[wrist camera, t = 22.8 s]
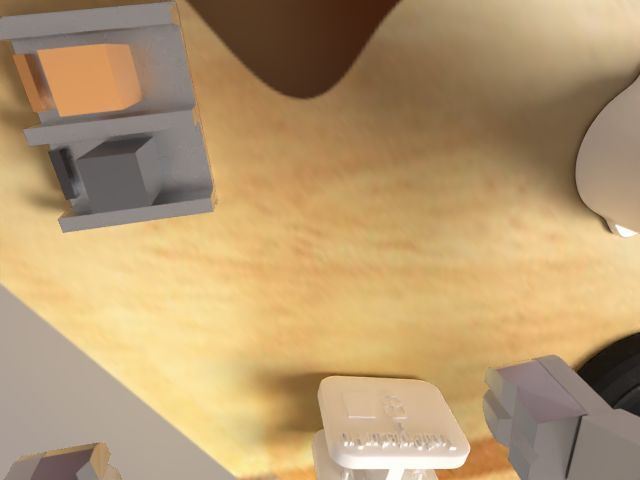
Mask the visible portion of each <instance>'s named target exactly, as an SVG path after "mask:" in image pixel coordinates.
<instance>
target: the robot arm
mask: <svg viewBox="0 0 640 480" xmlns="http://www.w3.org/2000/svg"><path fill="white" fill-rule="evenodd" d="M576 185H577V189H578V192H579V194H580V197H581V198H582V200H583V202H584V203H585V204H586V205H587V206H588V207H589V208H590V209H591V210H592V211H594V212H596V213H597V214H599V215H601V216H602V217H603V218H604V219H606V222H607V224H608V226H609V228H610V230H611V231H612V232H613V233H614V234H615V235H618V236H621V237H630V236H633V235H636V234H640V75H639V77H638V78H637V79H636V81H635V82H634V83H633V84H632V85H630V86H629V87H628V88H627V89H626V90H624V91H623V92H622V93H620V94H619V95H618V96H617V97H615V98H614V99H613V100H612V101H611V102H610V103H609V104H608V105H607V106H606V107H605V108H604V109H603V110H602V111H601V112H600V114H599V115H598V116H597V117H596V119H595V120H594V122H593V123H592V125H591V126H590V128H589V129H588V131H587V133H586V135H585V137H584V139H583V142H582V144H581V147H580V150H579V153H578V157H577V162H576ZM485 382H486V384H487V385H488V386H489V388H490V389H489V390H488V391H487V393H486V394H485V395H484V396H483V411H484V416H485V420H486V423H487V425H488V427H489V429H490V431H491V433H492V435H493V436H494V438H495V439H496V441H498V442H499V443H501V444H503V445H504V446H506V447H508V448H509V452H508V460H509V462H510V463H511V465H512V466H513V468H514V469H515V471H516V472H517V474H518V476H519V477H520V479H521V480H640V417H638V416H636V415H634V414H632V413H629V412H627V411H625V410H623V409H616V410H613V409H612V408H611V407H610V406H609V405H608V404H607V403H606V402H605V401H604V400H603V399H602V398H601V397H600V396H599V395H598V394H597V393H596V392H595V391H594V390H593V389H592V388H591V387H590V386H589V385H588V384H587V383H586V382H585V381H584V380H583V379H582V378H581V377H580V376H579V375H578V374H577V373H575V372H574V371H573V370H572V369H571V368H570V367H569V366H568V365H567V364H566V363H565V362H564V361H563V360H562V359H561V358H560V357H558V356H556V355H549V356H544V357H539V358H534V359H531V360H524V361H519V362H514V363H509V364H504V365H499V366H494V367H489V368H488V370H487V371H486V376H485ZM110 456H111V453H110V451H109V449H108V447H107V445H106V443H93V444H87V445H82V446H76V447H69V448H64V449H57V450H52V451H48V452H42V453H36V454H30V455H24V456H21V457H20V458H19V459H18V460H17V461H15V462H14V464H13V465H12V467H11V468H10V470H9V472H8V474H7V476H6V477H5V479H4V480H122V478H121V475H120V473H119V470H118V469H117V468H115V467H113V466H112V465H110V464H108V462H109V459H110Z"/></svg>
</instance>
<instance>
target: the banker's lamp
mask: <svg viewBox="0 0 640 480" xmlns="http://www.w3.org/2000/svg"><path fill="white" fill-rule="evenodd" d="M577 374H578V375H579V376H580V377H581V378H582V379H583V380H584V381H585V382H586V383H587V384H588V385H589V386H590V387H591V388H592V389H593V390H594V391H595V392H596V393H597V394H598V395H599V396H600V397H601V398H602V399H603V400H604V401H605V402H606V403H607V404H608V405H609V406H610V407H611V408H612V409H613V410H616V409H623V410H625V411H627V412H629V413H632V414H634V415H636V416H638V417H640V334H637V335H634V336H631V337H629V338H627V339H625V340H622V341H620V342H618V343H616V344H614V345H613V346H611V347H609V348H608V349H606V350H604V351H603V352H601V353H600V354H598V355H597V356H596V357H595V358H593V359H592V360H591V361H590V362H588V363H587V364H586V365H585V366H584V367H583V368H582V369H581V370H580V371H579V372H578V373H577Z"/></svg>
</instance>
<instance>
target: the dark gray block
mask: <svg viewBox="0 0 640 480" xmlns="http://www.w3.org/2000/svg"><path fill="white" fill-rule="evenodd" d="M75 161H76V163H77V166H78V169H79V172H80V175H81V178H82V181H83V184H84V186H85V189H86V192H87V195H88V198H89V201H90V204H91V206H92V209H93V212H94V214H98V213H105V212H113V211H120V210H127V209H135V208H142V207H149V206H151V205H152V203H153V201H154V200H155V198H156V197H157V195H158V193H159V192H160V190H161V189H162V187H163V186H164V184H165V180H164V177H163V173H162V169H161V165H160V161H159V157H158V154H157V150H156V146H155V142H154V138H153V137H145V138H136V139H128V140H119V141H111V142H103V143H101V144H100V145H98V146H97V147H95V148H93V149H92V150H90V151H89V152H87V153H86V154H84V155H82V156H81V157H79V158H78V159H76V160H75Z"/></svg>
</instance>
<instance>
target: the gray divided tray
mask: <svg viewBox="0 0 640 480" xmlns="http://www.w3.org/2000/svg"><path fill="white" fill-rule="evenodd" d="M0 41H9V42H11V43H12V46H13V48H14V51H15V54H16V55H12V57H13V59H14V62H15V65H16V67H17V70H18V73H19V75H20V78H21V81H22V83H23V86H24V89H25V91H26V94H27V97H28V99H29V102H30V105H31V107H32V110H33V113H34V112H37V113H38V116H39V118H40V121H41V123H40V124H37V125H34V126H31V127H28V128H26V129H23V132H24V135H25V137H26V140H27V142H28V145H29V146H35V145H43V144H49V145H50V148H51V151H49V152H48V153H49V155H50V158H51V161H52V163H53V166H54V169H55V171H56V174H57V177H58V179H59V182H60V185H61V187H62V190H63V193H64V195H65V198H66V200H68V199H70V202H71V205H72V207H71V208H69V209H68V210H67V211H66V212H65V213H64V214H63V215H62V216H60V217H59V218H58V221H59V224H60V226H61V229H62V231H63V233H65V232H72V231H79V230H86V229H93V228H100V227H107V226H114V225H122V224H129V223H136V222H143V221H150V220H157V219H164V218H171V217H178V216H186V215H193V214H200V213H207V212H214V207H215V204H217V201H218V199H217V195H216V190H215V185H214V180H213V176H212V171H211V166H210V161H209V157H208V152H207V147H206V142H205V138H204V133H203V128H202V123H201V119H200V114H199V109H198V104H197V100H196V95H195V90H194V85H193V81H192V76H191V71H190V66H189V62H188V57H187V52H186V47H185V43H184V38H183V33H182V28H181V24H180V19H179V14H178V9H177V4H176V2H175V1H170V2H159V3H148V4H137V5H126V6H115V7H103V8H92V9H81V10H70V11H59V12H48V13H37V14H26V15H15V16H4V17H2V18H1V19H0ZM95 44H127V45H129V47H130V51H131V55H132V59H133V62H134V66H135V70H136V74H137V78H138V81H139V85H140V89H141V93H142V97H143V100H142V101H140V102H138V103H136V104H134V105H132V106H129V107H127V108H125V109H123V110H116V111H107V112H98V113H89V114H81V115H72V116H63V117H60V115H59V112H58V109H57V107H56V104H55V101H54V98H53V95H52V92H51V89H50V87H49V84H48V81H47V78H46V75H45V72H44V69H43V67H42V64H41V61H40V58H39V55H38V52H37V50H45V49H55V48H65V47H75V46H85V45H95ZM145 137H153V138H154V142H155V146H156V150H157V154H158V157H159V161H160V165H161V169H162V173H163V177H164V180H165V184H164V186H163V187H162V189H161V190H160V192H159V193H158V195H157V197H156V198H155V200H154V201H153V203H152V205H151V206H149V207H142V208H135V209H127V210H120V211H113V212H105V213H98V214H94V212H93V209H92V206H91V204H90V201H89V198H88V195H87V192H86V189H85V186H84V184H83V181H82V178H81V175H80V172H79V169H78V166H77V163H76V161H75V160H76V159H78V158H79V157H81V156H82V155H84V154H86V153H87V152H89V151H90V150H92V149H93V148H95V147H97V146H98V145H100V144H101V143H103V142H111V141H119V140H128V139H136V138H145Z"/></svg>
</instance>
